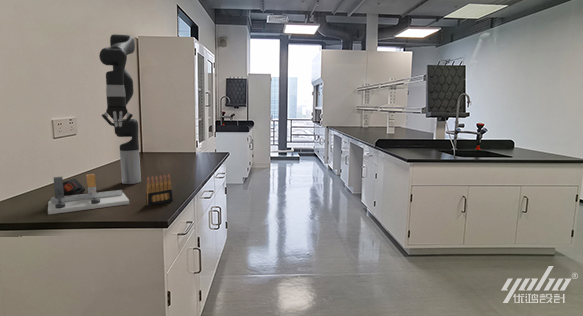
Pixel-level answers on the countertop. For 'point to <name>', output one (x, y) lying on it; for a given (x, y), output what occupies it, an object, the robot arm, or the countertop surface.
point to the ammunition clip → (158, 190)
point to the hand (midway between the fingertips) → (118, 135)
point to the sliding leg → (91, 184)
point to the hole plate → (87, 204)
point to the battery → (72, 187)
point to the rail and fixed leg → (61, 198)
